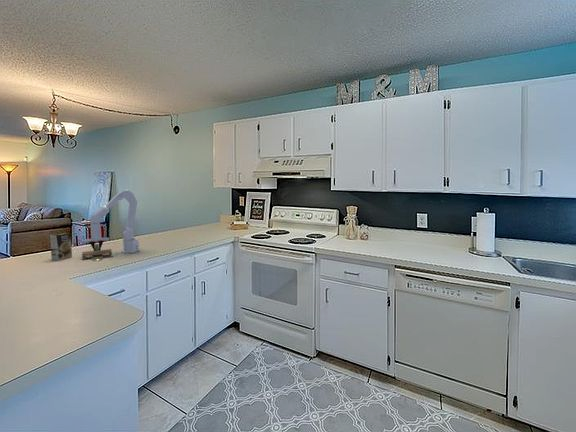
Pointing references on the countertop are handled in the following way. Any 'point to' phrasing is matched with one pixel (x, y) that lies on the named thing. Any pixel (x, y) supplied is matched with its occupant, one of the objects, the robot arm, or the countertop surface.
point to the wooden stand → (96, 253)
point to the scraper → (98, 254)
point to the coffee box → (61, 246)
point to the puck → (97, 259)
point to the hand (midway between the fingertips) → (97, 252)
